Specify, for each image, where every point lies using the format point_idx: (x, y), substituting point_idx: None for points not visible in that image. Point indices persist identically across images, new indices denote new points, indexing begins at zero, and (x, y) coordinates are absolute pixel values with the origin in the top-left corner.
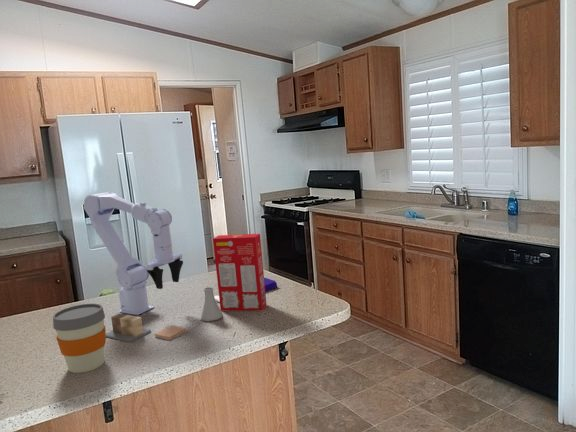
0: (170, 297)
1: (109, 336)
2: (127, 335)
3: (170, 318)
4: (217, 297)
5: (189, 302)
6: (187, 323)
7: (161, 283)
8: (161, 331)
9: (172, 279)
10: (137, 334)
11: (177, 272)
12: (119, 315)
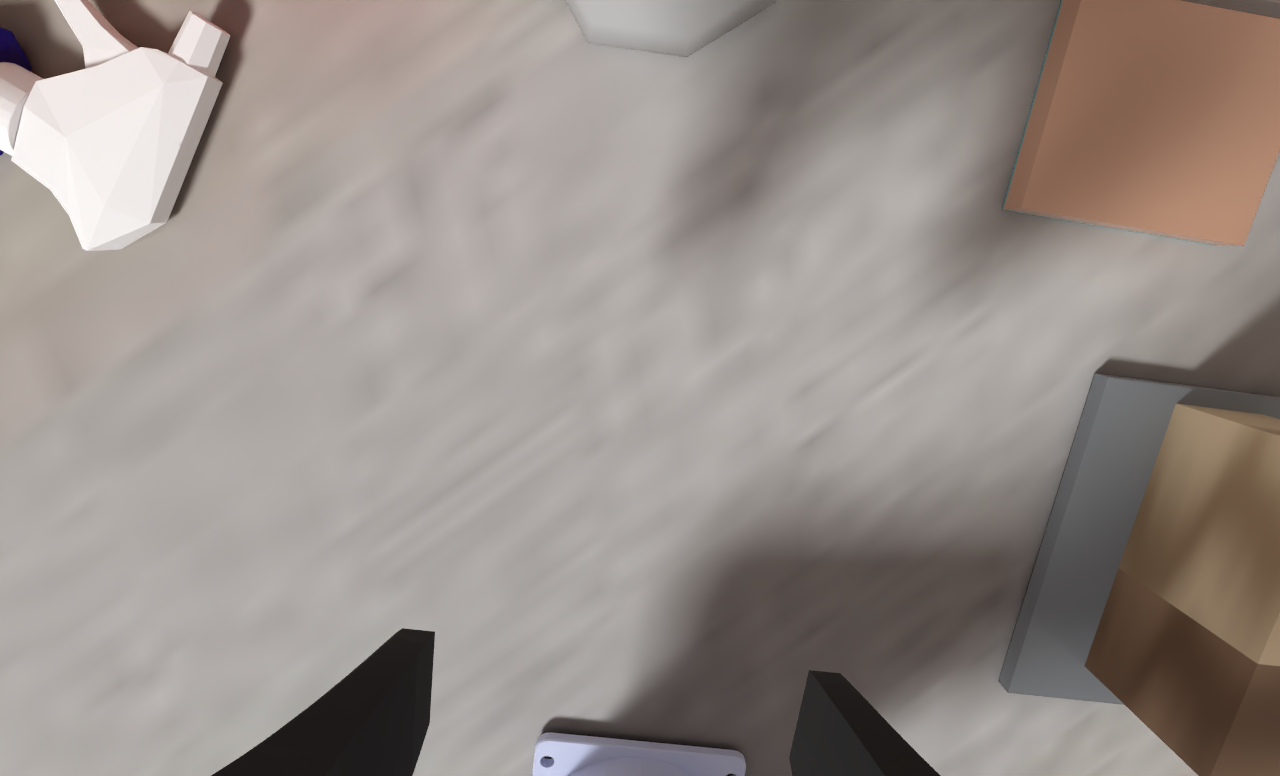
0: None
1: None
2: None
3: (759, 402)
4: (130, 169)
5: (312, 487)
6: (861, 124)
7: (882, 733)
8: (1180, 218)
9: (413, 764)
10: (1254, 414)
11: (340, 767)
12: (1266, 739)
